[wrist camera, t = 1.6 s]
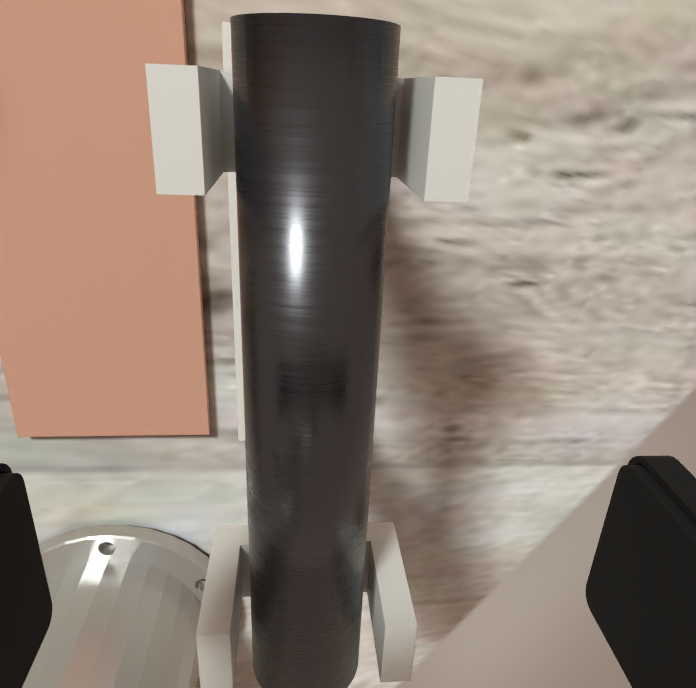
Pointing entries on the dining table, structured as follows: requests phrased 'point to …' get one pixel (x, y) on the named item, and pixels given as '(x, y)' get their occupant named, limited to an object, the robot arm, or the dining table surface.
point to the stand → (196, 179)
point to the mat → (94, 227)
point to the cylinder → (310, 323)
